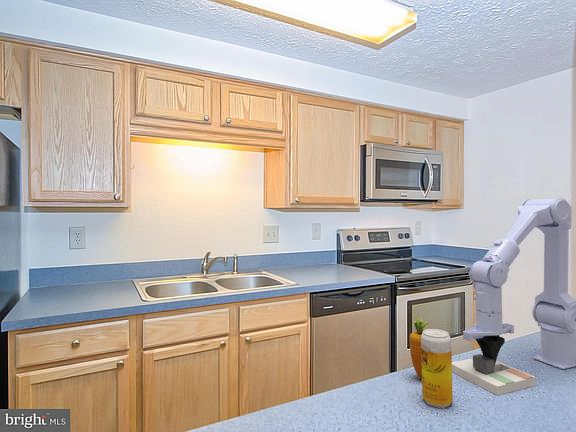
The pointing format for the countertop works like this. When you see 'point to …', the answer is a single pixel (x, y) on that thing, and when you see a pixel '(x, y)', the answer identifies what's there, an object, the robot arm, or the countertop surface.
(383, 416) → the countertop surface
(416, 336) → the carrot
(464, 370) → the switch board
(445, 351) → the beer can
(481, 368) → the switch handle
